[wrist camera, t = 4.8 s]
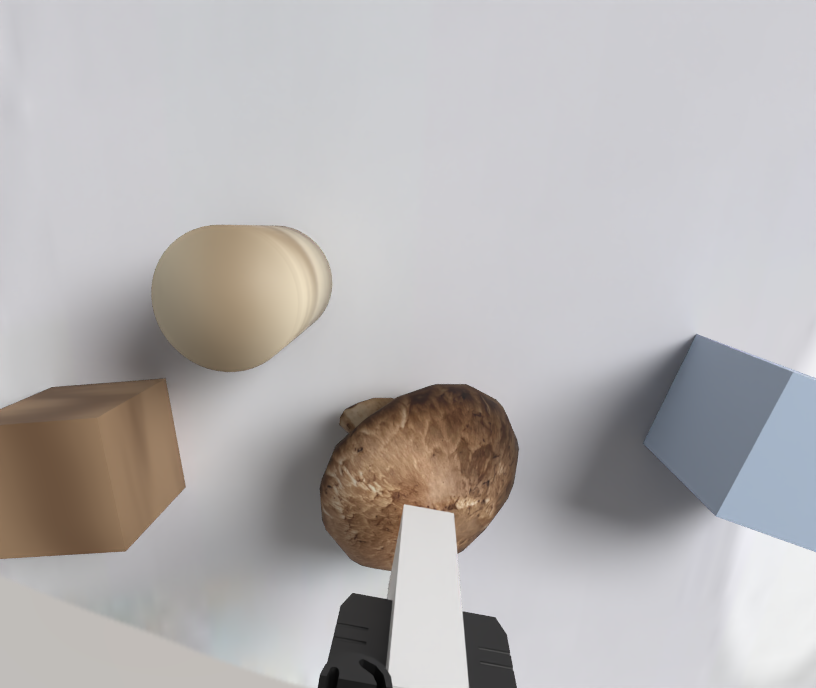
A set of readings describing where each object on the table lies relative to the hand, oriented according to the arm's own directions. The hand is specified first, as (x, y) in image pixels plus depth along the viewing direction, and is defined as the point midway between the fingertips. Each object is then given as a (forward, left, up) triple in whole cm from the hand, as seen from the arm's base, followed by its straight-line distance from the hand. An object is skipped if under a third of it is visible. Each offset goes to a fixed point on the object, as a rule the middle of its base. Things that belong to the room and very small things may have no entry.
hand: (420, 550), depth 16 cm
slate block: (+12, +4, -7) cm, 15 cm away
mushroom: (0, 0, -8) cm, 8 cm away
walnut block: (-13, -2, -7) cm, 15 cm away
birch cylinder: (-7, +6, -7) cm, 12 cm away
